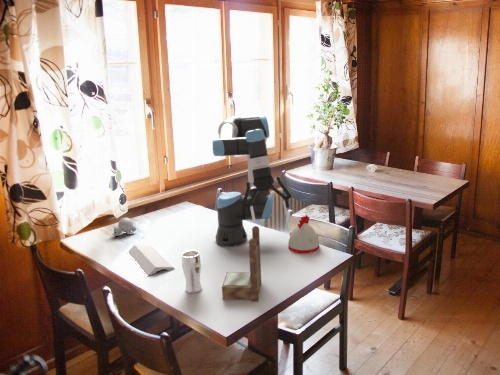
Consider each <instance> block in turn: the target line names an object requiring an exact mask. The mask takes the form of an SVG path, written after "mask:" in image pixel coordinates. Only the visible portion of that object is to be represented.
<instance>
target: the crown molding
mask: <svg viewBox="0 0 500 375" xmlns="http://www.w3.org/2000/svg"><path fill="white" fill-rule="evenodd" d="M127 252H129V254H130V255H131V256H132V257H133V258H134V259H135V261H137V263H138V264H139V265H140V267H141V268H142V269H143V270H144V272H145V273H146V274H147V275H151V276H152V275H154V274H157V272H159V271H162V270H167V271H172V270H175V267H174V266H173V265H172V264H171V263H170V262H169V261H168V260H167V259H165V258H164V257H163V255H161V254H160V253H159V252H158V251H157V250H156V248H154V247H153V246H152V245H151V244H134V245H133V246H132V247H130V249H129V250H128V251H127ZM140 267H139V268H140ZM171 269H172V270H171ZM144 272H143V273H144ZM145 273H144V274H145ZM146 274H145V275H146Z"/></svg>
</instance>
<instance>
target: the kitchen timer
mask: <svg viewBox="0 0 500 375" xmlns="http://www.w3.org/2000/svg"><path fill="white" fill-rule="evenodd" d="M309 221H310V216H308V215H307V214H306V215H303V216H301V217H300V220H299V223H297V225H295V227H294V228H293V229H292V231H290V232H289V239H288V245H287V246H288V250H289V251H290V252H292V253H295V254H301V253H302V254H301V255H303V254H312V253H313V254H314V253H315V252H317V251H318V250H319V248H320V241H319V235H318V234H317V232H316V230H315V228H313V227H312V225H310V224H309Z"/></svg>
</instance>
